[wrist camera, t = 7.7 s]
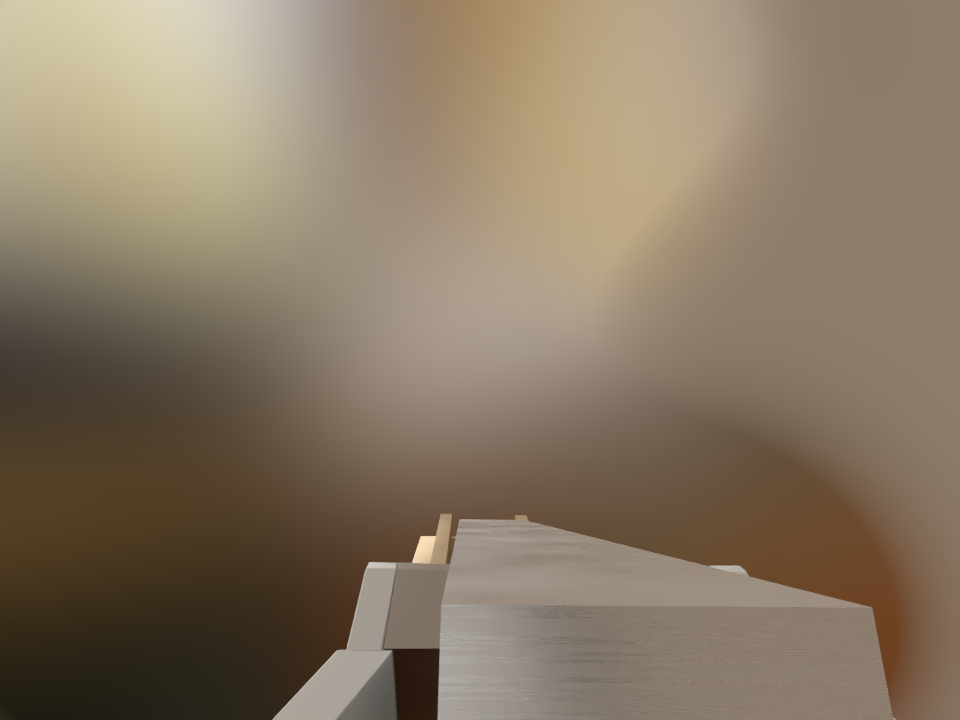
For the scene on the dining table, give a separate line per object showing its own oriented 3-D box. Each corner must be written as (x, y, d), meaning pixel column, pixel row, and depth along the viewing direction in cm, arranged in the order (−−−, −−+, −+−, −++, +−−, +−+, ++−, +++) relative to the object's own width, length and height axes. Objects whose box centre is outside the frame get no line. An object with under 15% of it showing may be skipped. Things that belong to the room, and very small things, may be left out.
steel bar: (421, 1249, 3) (440, 604, 4) (458, 589, 26) (459, 519, 27) (990, 1231, 3) (872, 608, 4) (525, 590, 26) (524, 520, 27)
